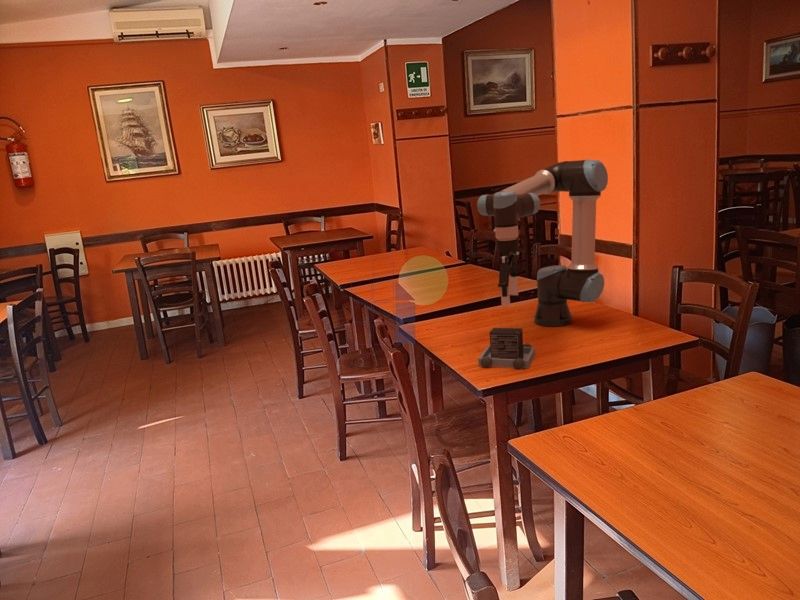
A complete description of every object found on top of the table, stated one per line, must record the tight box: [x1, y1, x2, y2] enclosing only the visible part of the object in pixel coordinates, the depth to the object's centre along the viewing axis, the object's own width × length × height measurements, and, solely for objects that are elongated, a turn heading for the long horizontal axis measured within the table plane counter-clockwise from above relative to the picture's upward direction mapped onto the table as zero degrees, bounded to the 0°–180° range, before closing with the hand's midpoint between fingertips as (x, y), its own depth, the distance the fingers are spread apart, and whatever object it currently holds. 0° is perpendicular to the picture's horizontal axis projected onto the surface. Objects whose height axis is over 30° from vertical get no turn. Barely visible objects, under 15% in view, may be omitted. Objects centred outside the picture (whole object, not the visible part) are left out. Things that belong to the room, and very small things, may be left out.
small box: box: [489, 327, 524, 359], centre depth 208 cm, size 11×6×10 cm, turn 68°
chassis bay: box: [477, 342, 536, 371], centre depth 209 cm, size 17×17×4 cm
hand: (510, 300), depth 205 cm, fingers open, 13 cm apart
